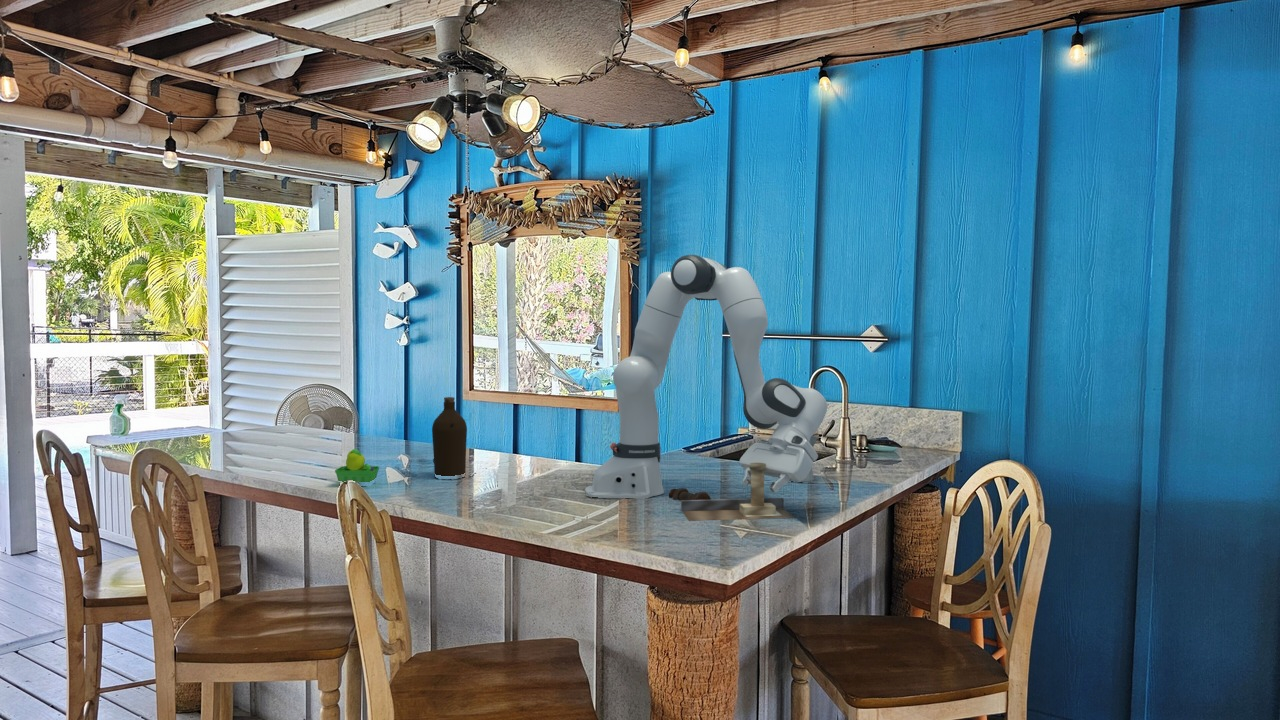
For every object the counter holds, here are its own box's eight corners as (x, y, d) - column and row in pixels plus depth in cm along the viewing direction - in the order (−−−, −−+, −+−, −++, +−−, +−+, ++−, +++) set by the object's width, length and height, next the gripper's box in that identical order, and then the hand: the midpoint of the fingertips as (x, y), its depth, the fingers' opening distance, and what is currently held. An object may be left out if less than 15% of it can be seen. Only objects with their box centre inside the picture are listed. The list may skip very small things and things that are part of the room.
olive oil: (474, 476, 260) (473, 397, 259) (447, 481, 252) (446, 399, 251) (452, 472, 267) (451, 395, 266) (425, 477, 259) (424, 397, 258)
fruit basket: (380, 482, 251) (380, 445, 251) (372, 488, 243) (371, 450, 242) (342, 482, 251) (341, 445, 250) (332, 488, 242) (331, 450, 242)
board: (688, 527, 197) (688, 510, 196) (680, 515, 209) (680, 499, 208) (795, 523, 200) (795, 507, 200) (781, 512, 212) (781, 496, 211)
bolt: (675, 507, 226) (705, 517, 213) (661, 500, 224) (691, 509, 211) (684, 488, 227) (715, 496, 214) (670, 480, 225) (700, 488, 212)
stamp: (743, 515, 202) (744, 465, 201) (739, 511, 206) (739, 462, 205) (775, 514, 203) (776, 464, 202) (770, 510, 207) (771, 462, 206)
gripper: (751, 431, 216) (723, 473, 211) (811, 440, 200) (782, 485, 195) (763, 447, 219) (736, 488, 214) (823, 457, 203) (795, 502, 197)
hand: (758, 487), depth 204 cm, fingers open, 8 cm apart
